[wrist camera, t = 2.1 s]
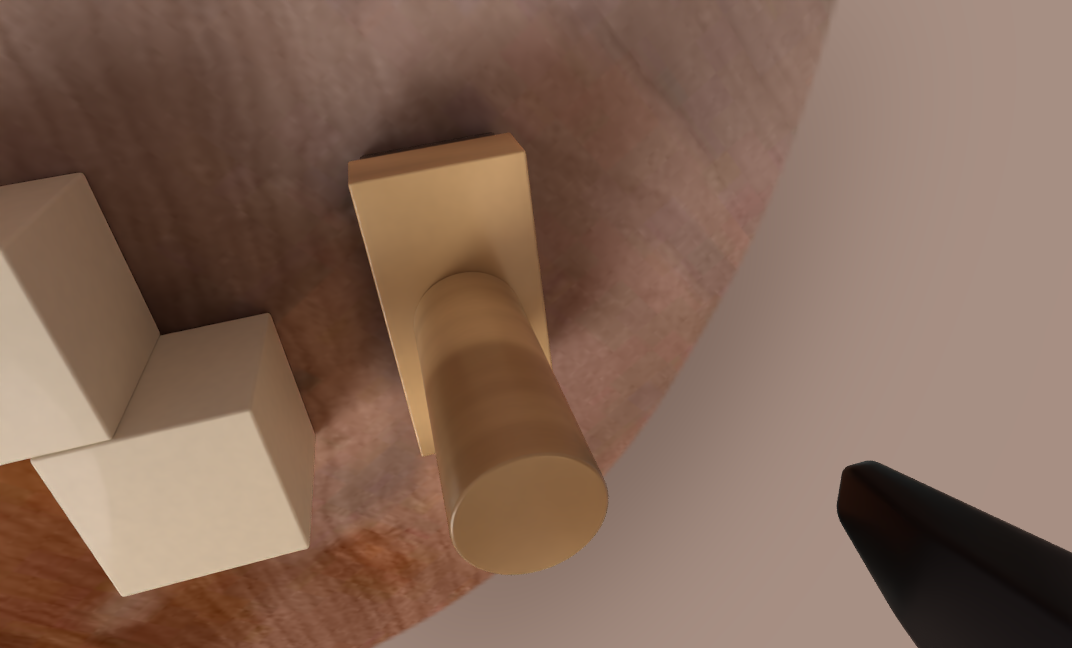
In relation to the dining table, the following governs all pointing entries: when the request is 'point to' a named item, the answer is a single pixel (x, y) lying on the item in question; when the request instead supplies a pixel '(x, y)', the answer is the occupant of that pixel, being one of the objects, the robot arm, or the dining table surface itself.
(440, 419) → the stamp
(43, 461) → the paper block right
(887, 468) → the robot arm
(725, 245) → the dining table surface
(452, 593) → the dining table surface
